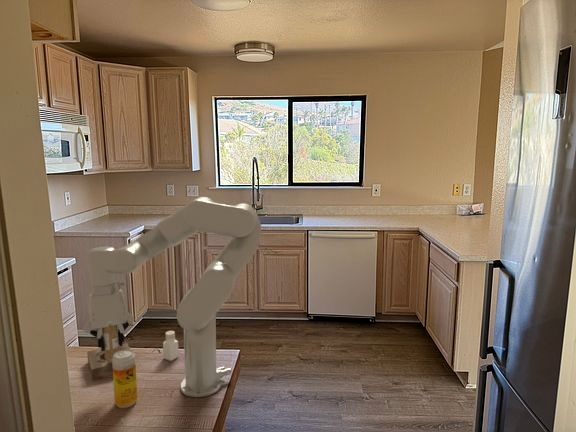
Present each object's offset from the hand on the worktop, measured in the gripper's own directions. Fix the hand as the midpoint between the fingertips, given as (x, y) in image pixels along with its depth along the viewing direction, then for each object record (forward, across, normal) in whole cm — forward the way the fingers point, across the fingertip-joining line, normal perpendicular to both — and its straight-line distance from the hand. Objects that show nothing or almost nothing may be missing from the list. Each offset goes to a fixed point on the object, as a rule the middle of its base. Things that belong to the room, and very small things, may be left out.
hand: (111, 346), depth 120 cm
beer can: (+14, -2, +9) cm, 17 cm away
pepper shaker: (+14, -20, -11) cm, 27 cm away
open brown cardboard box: (+14, -1, -16) cm, 21 cm away
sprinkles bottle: (+4, 0, 0) cm, 4 cm away
